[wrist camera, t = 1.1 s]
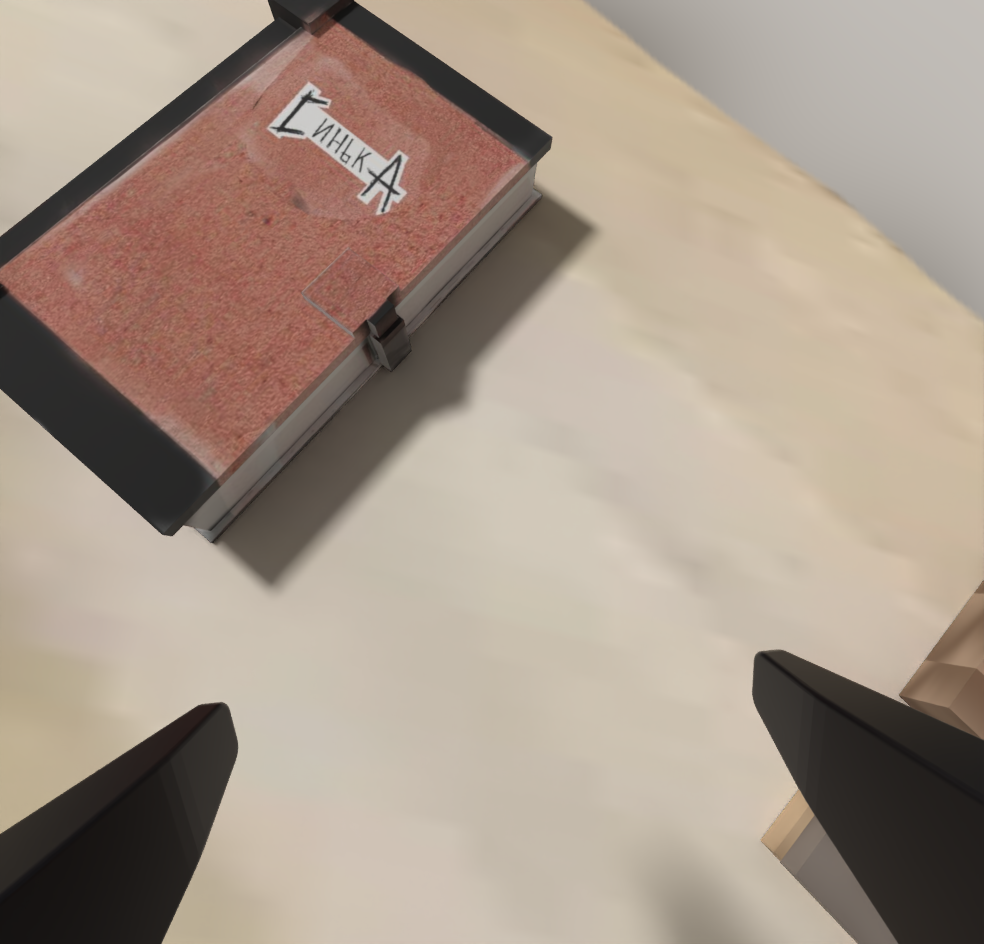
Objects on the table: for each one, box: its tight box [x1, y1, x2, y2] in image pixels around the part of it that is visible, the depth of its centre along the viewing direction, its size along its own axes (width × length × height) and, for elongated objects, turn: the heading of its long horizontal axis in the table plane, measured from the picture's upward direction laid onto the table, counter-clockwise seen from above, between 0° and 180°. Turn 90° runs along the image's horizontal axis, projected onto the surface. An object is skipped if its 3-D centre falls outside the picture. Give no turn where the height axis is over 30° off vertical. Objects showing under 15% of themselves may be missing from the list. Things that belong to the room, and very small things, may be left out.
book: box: [0, 0, 552, 543], centre depth 25 cm, size 26×18×5 cm
